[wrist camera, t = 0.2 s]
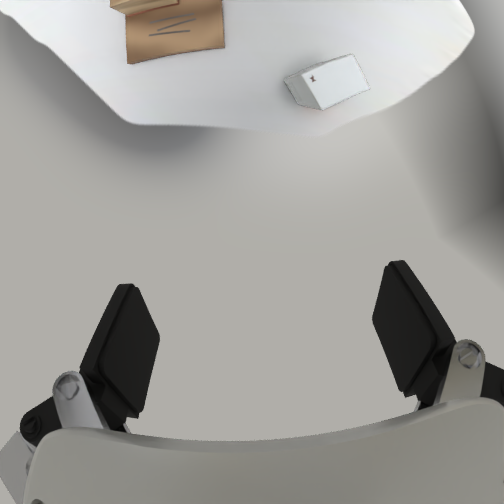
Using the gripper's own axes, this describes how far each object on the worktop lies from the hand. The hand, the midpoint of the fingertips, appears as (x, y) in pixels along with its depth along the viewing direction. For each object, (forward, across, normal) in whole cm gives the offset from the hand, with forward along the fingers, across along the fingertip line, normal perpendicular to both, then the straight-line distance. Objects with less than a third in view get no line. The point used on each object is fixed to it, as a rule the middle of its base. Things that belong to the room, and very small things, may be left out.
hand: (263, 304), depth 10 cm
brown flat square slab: (+31, +8, -21) cm, 38 cm away
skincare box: (+31, -9, -8) cm, 33 cm away
